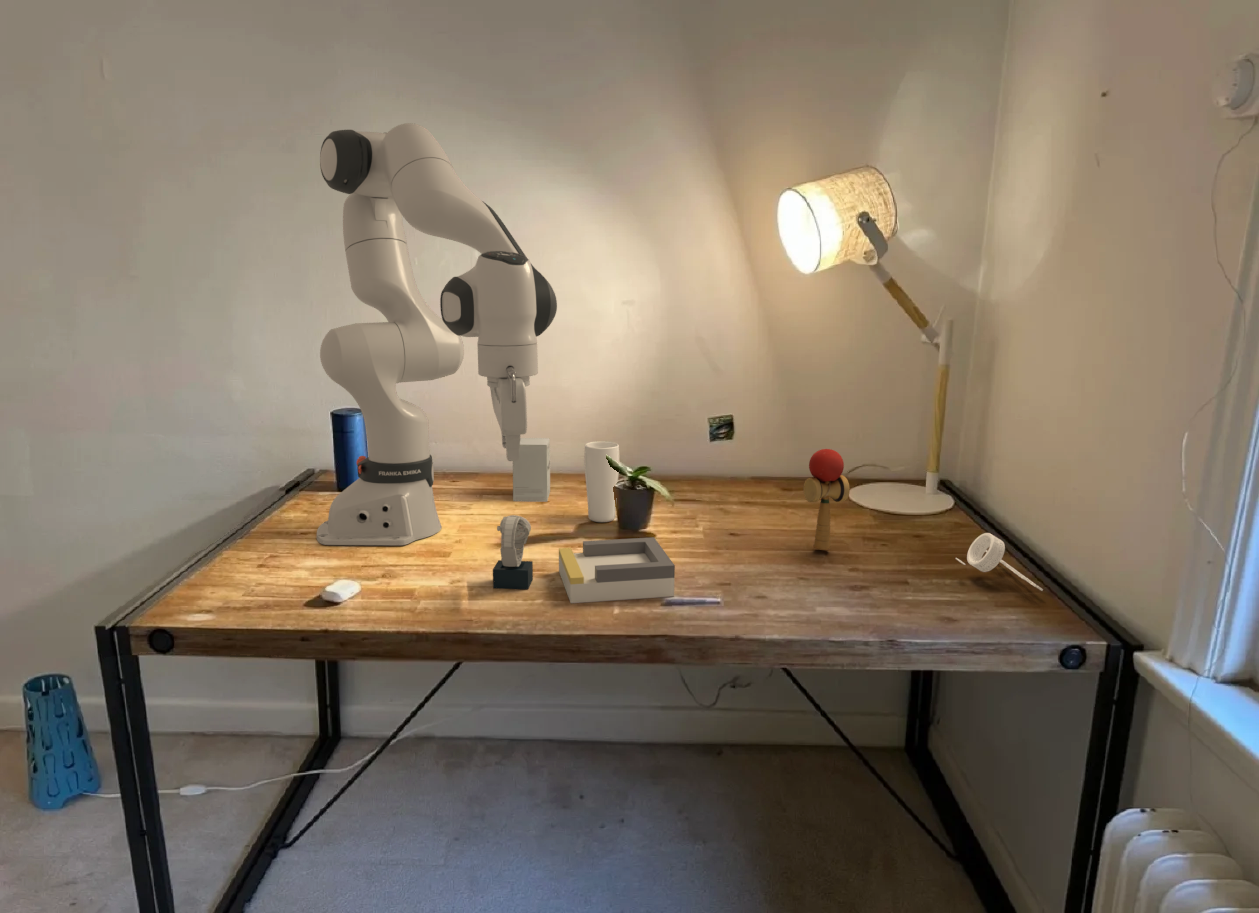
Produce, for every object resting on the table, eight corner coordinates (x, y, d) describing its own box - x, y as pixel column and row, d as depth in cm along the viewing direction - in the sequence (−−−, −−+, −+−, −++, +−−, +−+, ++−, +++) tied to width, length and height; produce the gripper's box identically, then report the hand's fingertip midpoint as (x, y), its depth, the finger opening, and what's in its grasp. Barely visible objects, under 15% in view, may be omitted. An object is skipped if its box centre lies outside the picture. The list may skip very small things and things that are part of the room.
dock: (570, 603, 137) (570, 571, 136) (558, 571, 151) (558, 542, 150) (674, 596, 141) (674, 565, 139) (653, 565, 154) (654, 537, 153)
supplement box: (548, 504, 190) (547, 444, 187) (512, 503, 190) (511, 444, 187) (551, 494, 197) (550, 437, 194) (516, 494, 197) (515, 437, 195)
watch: (534, 575, 149) (533, 510, 147) (526, 593, 141) (525, 525, 139) (500, 574, 149) (499, 509, 147) (490, 592, 142) (488, 524, 139)
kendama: (839, 541, 168) (845, 445, 164) (848, 552, 161) (855, 453, 157) (797, 541, 167) (802, 445, 163) (805, 553, 161) (810, 453, 157)
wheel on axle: (937, 543, 160) (959, 512, 159) (982, 571, 161) (1004, 541, 160) (981, 579, 142) (1006, 544, 141) (1031, 610, 144) (1056, 576, 143)
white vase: (618, 524, 177) (618, 448, 173) (583, 524, 177) (583, 448, 173) (619, 514, 183) (620, 441, 180) (585, 514, 183) (585, 440, 180)
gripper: (536, 370, 127) (538, 467, 130) (523, 355, 147) (525, 440, 150) (490, 371, 126) (493, 469, 129) (483, 356, 146) (486, 441, 149)
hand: (510, 453), depth 140 cm, fingers open, 8 cm apart
